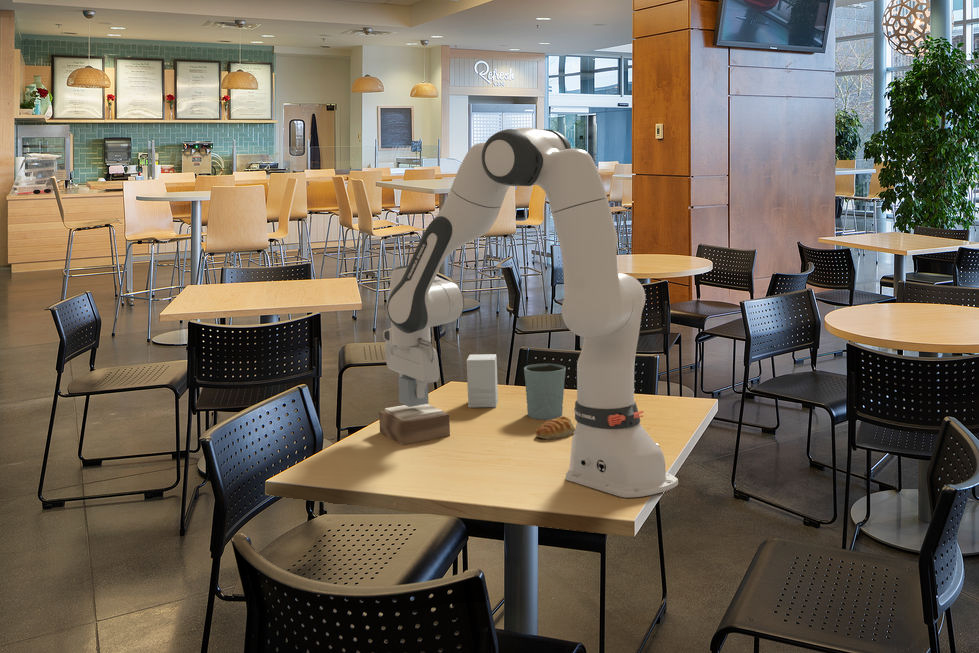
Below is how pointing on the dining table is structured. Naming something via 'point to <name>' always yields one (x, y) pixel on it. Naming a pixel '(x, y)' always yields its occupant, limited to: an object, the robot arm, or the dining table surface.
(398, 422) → the walnut block
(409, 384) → the slate block
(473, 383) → the supplement box
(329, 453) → the dining table surface
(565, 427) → the pastry
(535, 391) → the teal cup
